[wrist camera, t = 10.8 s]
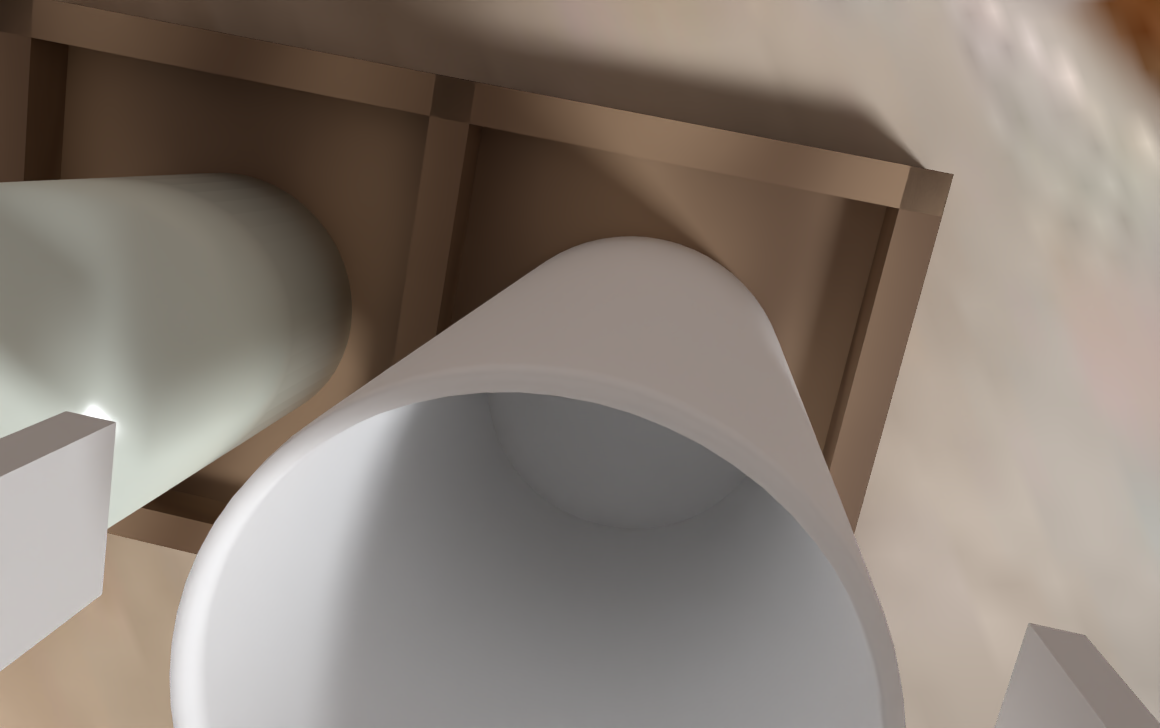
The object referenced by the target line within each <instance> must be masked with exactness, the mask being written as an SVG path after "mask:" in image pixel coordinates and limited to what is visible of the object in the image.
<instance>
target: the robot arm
mask: <svg viewBox="0 0 1160 728" xmlns="http://www.w3.org/2000/svg"><path fill="white" fill-rule="evenodd" d="M115 433H116V422H114V421H109V420H105V419H100V418H96V417H91V416H87V415H82V414H78V413H73V412H68V411H65V412H63V413H60V414H58V415H55V416H53V417H51V418H48V419H46V420H43V421H41V422H39V423H36V424H34V425H31V426H29V427H27V428H24V429H22V430H19V431H17V432H14V433H12V434H10V435H7V436H5V437H2V438H0V671H1V670H3V669H4V668H5V667H7V666H8V665H9V664H11V663H12V662H13V661H15V660H16V659H17V658H18V657H20V656H21V655H22V654H24V653H25V652H26V651H28V650H29V649H30V648H32V647H33V646H34V645H36V644H37V643H38V642H40V641H41V640H42V639H44V638H45V637H46V636H48V635H49V634H50V633H51V632H53V631H54V630H55V629H57V628H58V627H59V626H61V625H62V624H63V623H65V622H66V621H67V620H69V619H70V618H71V617H73V616H74V615H75V614H77V613H78V612H79V611H81V610H82V609H83V608H84V607H86V606H87V605H88V604H90V603H91V602H92V601H94V600H95V599H96V598H98V597H99V596H100V595H102V588H103V576H104V564H105V552H106V540H107V528H108V516H109V504H110V492H111V480H112V468H113V456H114V444H115ZM995 728H1160V723H1159V722H1158V721H1157V720H1156V719H1155V717H1154V716H1153V715H1152V714H1151V713H1150V711H1149V710H1148V709H1147V708H1146V707H1145V706H1144V704H1143V703H1142V702H1141V701H1140V700H1139V698H1138V697H1137V696H1136V695H1135V694H1134V692H1133V691H1132V690H1131V689H1130V688H1129V687H1128V685H1127V684H1126V683H1125V682H1124V681H1123V679H1122V678H1121V677H1120V676H1119V675H1118V674H1117V672H1116V671H1115V670H1114V669H1113V668H1112V666H1111V665H1110V664H1109V663H1108V662H1107V660H1106V659H1105V658H1104V657H1103V656H1102V655H1101V653H1100V652H1099V651H1098V650H1097V649H1096V647H1095V646H1094V645H1093V644H1092V643H1091V641H1090V640H1089V639H1088V638H1087V637H1086V636H1085V635H1082V634H1077V633H1073V632H1068V631H1064V630H1059V629H1055V628H1050V627H1046V626H1041V625H1036V624H1032V623H1029V624H1028V627H1027V630H1026V633H1025V636H1024V639H1023V642H1022V645H1021V648H1020V651H1019V654H1018V657H1017V660H1016V663H1015V666H1014V669H1013V672H1012V676H1011V679H1010V682H1009V685H1008V688H1007V691H1006V694H1005V697H1004V700H1003V703H1002V706H1001V709H1000V712H999V715H998V718H997V721H996V724H995Z"/></svg>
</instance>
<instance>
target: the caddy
mask: <svg viewBox="0 0 1160 728" xmlns="http://www.w3.org/2000/svg"><path fill="white" fill-rule="evenodd" d="M198 173H233V174H241V175H246V176H250V177H253V178H257V179H260V180H263V181H265V182H267V183H270V184H272V185H274V186H276V187H278V188H280V189H282V190H283V191H285V192H287V193H288V194H290V195H291V196H293V197H294V198H295V199H297V200H298V201H299V202H301V203H302V204H303V205H304V206H305V207H306V208H307V209H308V210H309V211H310V212H311V213H312V214H313V215H314V216H315V217H316V218H317V219H318V220H319V221H320V223H321V224H322V225H323V226H324V228H325V229H326V230H327V232H328V233H329V235H330V237H331V238H332V240H333V242H334V243H335V245H336V247H337V249H338V251H339V253H340V256H341V258H342V260H343V263H344V266H345V269H346V272H347V275H348V279H349V285H350V290H351V299H352V319H351V329H350V334H349V339H348V343H347V346H346V349H345V352H344V354H343V357H342V359H341V361H340V363H339V365H338V367H337V369H336V371H335V372H334V374H333V375H332V376H331V378H330V379H329V381H328V382H327V383H326V384H325V386H324V387H323V388H322V389H321V390H320V391H319V392H318V393H317V394H316V395H315V396H313V397H312V398H311V399H310V400H308V401H307V402H306V403H304V404H303V405H301V406H300V407H298V408H297V409H295V410H293V411H292V412H290V413H289V414H287V415H286V416H284V417H282V418H281V419H279V420H278V421H276V422H275V423H273V424H271V425H270V426H268V427H267V428H265V429H264V430H262V431H260V432H259V433H257V434H256V435H254V436H253V437H251V438H249V439H248V440H246V441H245V442H243V443H242V444H240V445H238V446H237V447H235V448H234V449H232V450H231V451H229V452H227V453H226V454H224V455H223V456H221V457H220V458H218V459H216V460H215V461H213V462H212V463H210V464H209V465H207V466H205V467H204V468H202V469H201V470H199V471H198V472H196V473H194V474H193V475H191V476H190V477H188V478H187V479H185V480H183V481H182V482H180V483H179V484H177V485H176V486H174V487H172V488H171V489H169V490H168V491H166V492H165V493H163V494H161V495H160V496H158V497H157V498H155V499H154V500H152V501H150V502H149V503H147V504H146V505H144V506H143V507H141V508H139V509H138V510H136V511H135V512H133V513H132V514H130V515H128V516H127V517H125V518H124V519H122V520H121V521H119V522H117V523H116V524H114V525H113V526H111V527H110V528H108V529H107V533H110V534H114V535H118V536H122V537H126V538H131V539H135V540H139V541H143V542H147V543H152V544H156V545H160V546H164V547H168V548H173V549H177V550H181V551H185V552H189V553H194V554H198V551H199V550H200V548H201V546H202V544H203V542H204V541H205V539H206V537H207V535H208V533H209V531H210V530H211V528H212V526H213V524H214V523H215V521H216V520H217V518H218V517H219V516H220V514H221V513H222V511H223V510H224V508H225V507H226V506H227V504H228V503H229V501H230V500H231V498H232V497H233V496H234V495H235V494H236V493H237V491H238V490H239V489H240V488H241V487H242V486H243V485H244V483H245V482H246V481H247V480H248V479H249V478H250V477H251V476H252V474H253V473H254V472H255V471H256V470H257V469H258V468H259V467H260V466H261V465H262V464H263V463H264V461H265V460H266V459H267V458H268V457H269V456H271V455H272V454H273V453H274V452H275V451H276V450H277V449H278V448H279V447H280V446H282V445H283V444H284V443H285V442H286V441H287V440H288V439H289V438H290V437H292V436H293V435H294V434H296V433H297V432H298V431H300V430H301V429H302V428H304V427H305V426H307V425H308V424H309V423H311V422H312V421H313V420H315V419H316V418H318V417H319V416H320V415H322V414H323V413H325V412H326V411H328V410H329V409H331V408H332V407H333V406H335V405H336V404H338V403H339V402H341V401H342V400H344V399H345V398H346V397H348V396H349V395H351V394H352V393H354V392H355V391H357V390H358V389H359V388H361V387H362V386H364V385H365V384H367V383H368V382H370V381H371V380H372V379H374V378H375V377H377V376H378V375H380V374H381V373H383V372H384V371H386V370H387V369H388V368H390V367H391V366H393V365H394V364H396V363H397V362H399V361H400V360H402V359H403V358H405V357H406V356H407V355H409V354H410V353H412V352H413V351H415V350H416V349H418V348H419V347H421V346H422V345H424V344H425V343H427V342H428V341H429V340H431V339H432V338H434V337H435V336H437V335H438V334H440V333H441V332H443V331H444V330H446V329H447V328H449V327H450V326H451V325H453V324H454V323H456V322H457V321H459V320H460V319H462V318H463V317H465V316H466V315H468V314H469V313H471V312H472V311H474V310H475V309H476V308H478V307H479V306H481V305H482V304H484V303H485V302H487V301H488V300H490V299H491V298H493V297H494V296H496V295H497V294H498V293H500V292H501V291H503V290H504V289H506V288H507V287H509V286H510V285H512V284H513V283H515V282H516V281H518V280H519V279H520V278H522V277H523V276H525V275H526V274H528V273H529V272H531V271H532V270H534V269H535V268H537V267H538V266H540V265H541V264H542V263H544V262H545V261H547V260H549V259H550V258H552V257H554V256H556V255H557V254H559V253H561V252H563V251H565V250H568V249H570V248H572V247H574V246H577V245H580V244H583V243H586V242H590V241H594V240H599V239H603V238H611V237H621V236H638V237H650V238H656V239H662V240H667V241H670V242H674V243H678V244H681V245H683V246H686V247H688V248H691V249H694V250H696V251H698V252H700V253H702V254H704V255H706V256H708V257H709V258H711V259H713V260H714V261H716V262H717V263H719V264H720V265H722V266H723V267H724V268H726V269H727V270H728V271H729V272H731V273H732V274H733V275H734V276H735V277H736V278H738V279H739V280H740V281H741V282H742V283H743V284H744V285H745V286H746V287H747V289H748V290H749V291H750V292H751V293H752V295H753V296H754V297H755V298H756V300H757V301H758V303H759V304H760V305H761V307H762V308H763V310H764V312H765V313H766V315H767V317H768V319H769V321H770V323H771V325H772V327H773V329H774V332H775V334H776V336H777V339H778V341H779V344H780V347H781V349H782V352H783V354H784V357H785V359H786V362H787V364H788V367H789V370H790V372H791V375H792V377H793V380H794V382H795V385H796V387H797V390H798V393H799V395H800V398H801V400H802V403H803V405H804V408H805V410H806V413H807V416H808V418H809V421H810V423H811V426H812V428H813V431H814V433H815V436H816V439H817V441H818V444H819V446H820V449H821V451H822V454H823V456H824V459H825V462H826V464H827V467H828V469H829V472H830V474H831V477H832V479H833V482H834V485H835V487H836V490H837V492H838V495H839V497H840V500H841V502H842V505H843V508H844V510H845V513H846V515H847V518H848V520H849V523H850V525H851V528H852V531H853V533H854V532H855V529H856V525H857V522H858V518H859V514H860V511H861V507H862V504H863V500H864V496H865V493H866V489H867V485H868V482H869V478H870V475H871V471H872V467H873V464H874V460H875V457H876V453H877V449H878V446H879V442H880V439H881V435H882V431H883V428H884V424H885V420H886V417H887V413H888V410H889V406H890V402H891V399H892V395H893V392H894V388H895V384H896V381H897V377H898V374H899V370H900V366H901V363H902V359H903V355H904V352H905V348H906V345H907V341H908V337H909V334H910V330H911V327H912V323H913V319H914V316H915V312H916V309H917V305H918V301H919V298H920V294H921V290H922V287H923V283H924V280H925V276H926V272H927V269H928V265H929V262H930V258H931V254H932V251H933V247H934V244H935V240H936V236H937V233H938V229H939V226H940V222H941V218H942V215H943V211H944V207H945V204H946V200H947V197H948V193H949V189H950V186H951V182H952V179H953V175H954V174H949V173H944V172H939V171H934V170H929V169H924V168H918V167H913V166H908V165H903V164H898V163H893V162H887V161H882V160H877V159H872V158H867V157H862V156H856V155H851V154H846V153H841V152H836V151H831V150H825V149H820V148H815V147H810V146H805V145H800V144H794V143H789V142H784V141H779V140H774V139H769V138H763V137H758V136H753V135H748V134H743V133H737V132H732V131H727V130H722V129H717V128H712V127H706V126H701V125H696V124H691V123H686V122H681V121H675V120H670V119H665V118H660V117H655V116H650V115H644V114H639V113H634V112H629V111H624V110H619V109H613V108H608V107H603V106H598V105H593V104H588V103H582V102H577V101H572V100H567V99H562V98H557V97H551V96H546V95H541V94H536V93H531V92H526V91H520V90H515V89H510V88H505V87H500V86H495V85H489V84H484V83H479V82H474V81H469V80H464V79H458V78H453V77H448V76H443V75H438V74H433V73H427V72H422V71H417V70H412V69H407V68H402V67H396V66H391V65H386V64H381V63H376V62H371V61H365V60H360V59H355V58H350V57H345V56H340V55H334V54H329V53H324V52H319V51H314V50H308V49H303V48H298V47H293V46H288V45H283V44H277V43H272V42H267V41H262V40H257V39H252V38H246V37H241V36H236V35H231V34H226V33H221V32H215V31H210V30H205V29H200V28H195V27H190V26H184V25H179V24H174V23H169V22H164V21H159V20H153V19H148V18H143V17H138V16H133V15H128V14H122V13H117V12H112V11H107V10H102V9H97V8H91V7H86V6H81V5H76V4H71V3H66V2H60V1H55V0H0V182H21V181H43V180H65V179H88V178H110V177H132V176H154V175H176V174H198Z"/></svg>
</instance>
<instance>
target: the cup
mask: <svg viewBox="0 0 1160 728" xmlns="http://www.w3.org/2000/svg"><path fill="white" fill-rule="evenodd" d="M170 698H171V711H172V718H173V725H174V728H906V725H905V712H904V699H903V693H902V686H901V680H900V675H899V669H898V664H897V659H896V653H895V648H894V644H893V641H892V637H891V634H890V631H889V628H888V624H887V621H886V618H885V614H884V611H883V609H882V606H881V603H880V601H879V598H878V596H877V593H876V590H875V588H874V585H873V583H872V580H871V577H870V575H869V572H868V570H867V567H866V564H865V562H864V559H863V557H862V554H861V551H860V549H859V546H858V544H857V541H856V538H855V536H854V533H853V531H852V528H851V525H850V523H849V520H848V518H847V515H846V513H845V510H844V508H843V505H842V502H841V500H840V497H839V495H838V492H837V490H836V487H835V485H834V482H833V479H832V477H831V474H830V472H829V469H828V467H827V464H826V462H825V459H824V456H823V454H822V451H821V449H820V446H819V444H818V441H817V439H816V436H815V433H814V431H813V428H812V426H811V423H810V421H809V418H808V416H807V413H806V410H805V408H804V405H803V403H802V400H801V398H800V395H799V393H798V390H797V387H796V385H795V382H794V380H793V377H792V375H791V372H790V370H789V367H788V364H787V362H786V359H785V357H784V354H783V352H782V349H781V347H780V344H779V341H778V339H777V336H776V334H775V332H774V329H773V327H772V325H771V323H770V321H769V319H768V317H767V315H766V313H765V312H764V310H763V308H762V307H761V305H760V304H759V303H758V301H757V300H756V298H755V297H754V296H753V295H752V293H751V292H750V291H749V290H748V289H747V287H746V286H745V285H744V284H743V283H742V282H741V281H740V280H739V279H738V278H736V277H735V276H734V275H733V274H732V273H731V272H729V271H728V270H727V269H726V268H724V267H723V266H722V265H720V264H719V263H717V262H716V261H714V260H713V259H711V258H709V257H708V256H706V255H704V254H702V253H700V252H698V251H696V250H694V249H691V248H688V247H686V246H683V245H681V244H678V243H674V242H670V241H667V240H662V239H656V238H650V237H638V236H621V237H611V238H603V239H599V240H594V241H590V242H586V243H583V244H580V245H577V246H574V247H572V248H570V249H568V250H565V251H563V252H561V253H559V254H557V255H556V256H554V257H552V258H550V259H549V260H547V261H545V262H544V263H542V264H541V265H540V266H538V267H537V268H535V269H534V270H532V271H531V272H529V273H528V274H526V275H525V276H523V277H522V278H520V279H519V280H518V281H516V282H515V283H513V284H512V285H510V286H509V287H507V288H506V289H504V290H503V291H501V292H500V293H498V294H497V295H496V296H494V297H493V298H491V299H490V300H488V301H487V302H485V303H484V304H482V305H481V306H479V307H478V308H476V309H475V310H474V311H472V312H471V313H469V314H468V315H466V316H465V317H463V318H462V319H460V320H459V321H457V322H456V323H454V324H453V325H451V326H450V327H449V328H447V329H446V330H444V331H443V332H441V333H440V334H438V335H437V336H435V337H434V338H432V339H431V340H429V341H428V342H427V343H425V344H424V345H422V346H421V347H419V348H418V349H416V350H415V351H413V352H412V353H410V354H409V355H407V356H406V357H405V358H403V359H402V360H400V361H399V362H397V363H396V364H394V365H393V366H391V367H390V368H388V369H387V370H386V371H384V372H383V373H381V374H380V375H378V376H377V377H375V378H374V379H372V380H371V381H370V382H368V383H367V384H365V385H364V386H362V387H361V388H359V389H358V390H357V391H355V392H354V393H352V394H351V395H349V396H348V397H346V398H345V399H344V400H342V401H341V402H339V403H338V404H336V405H335V406H333V407H332V408H331V409H329V410H328V411H326V412H325V413H323V414H322V415H320V416H319V417H318V418H316V419H315V420H313V421H312V422H311V423H309V424H308V425H307V426H305V427H304V428H302V429H301V430H300V431H298V432H297V433H296V434H294V435H293V436H292V437H290V438H289V439H288V440H287V441H286V442H285V443H284V444H283V445H282V446H280V447H279V448H278V449H277V450H276V451H275V452H274V453H273V454H272V455H271V456H269V457H268V458H267V459H266V460H265V461H264V463H263V464H262V465H261V466H260V467H259V468H258V469H257V470H256V471H255V472H254V473H253V474H252V476H251V477H250V478H249V479H248V480H247V481H246V482H245V483H244V485H243V486H242V487H241V488H240V489H239V490H238V491H237V493H236V494H235V495H234V496H233V497H232V498H231V500H230V501H229V503H228V504H227V506H226V507H225V508H224V510H223V511H222V513H221V514H220V516H219V517H218V518H217V520H216V521H215V523H214V524H213V526H212V528H211V530H210V531H209V533H208V535H207V537H206V539H205V541H204V542H203V544H202V546H201V548H200V550H199V551H198V554H197V556H196V559H195V561H194V563H193V566H192V568H191V571H190V573H189V575H188V578H187V580H186V583H185V587H184V590H183V594H182V597H181V601H180V604H179V607H178V611H177V616H176V622H175V627H174V633H173V639H172V647H171V662H170Z"/></svg>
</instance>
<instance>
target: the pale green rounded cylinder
mask: <svg viewBox="0 0 1160 728" xmlns="http://www.w3.org/2000/svg"><path fill="white" fill-rule="evenodd" d="M351 319H352V299H351V290H350V285H349V279H348V275H347V272H346V269H345V266H344V263H343V260H342V258H341V256H340V253H339V251H338V249H337V247H336V245H335V243H334V242H333V240H332V238H331V237H330V235H329V233H328V232H327V230H326V229H325V228H324V226H323V225H322V224H321V223H320V221H319V220H318V219H317V218H316V217H315V216H314V215H313V214H312V213H311V212H310V211H309V210H308V209H307V208H306V207H305V206H304V205H303V204H302V203H301V202H299V201H298V200H297V199H295V198H294V197H293V196H291V195H290V194H288V193H287V192H285V191H283V190H282V189H280V188H278V187H276V186H274V185H272V184H270V183H267V182H265V181H263V180H260V179H257V178H253V177H250V176H246V175H241V174H233V173H198V174H176V175H154V176H132V177H110V178H88V179H65V180H43V181H21V182H0V438H2V437H5V436H7V435H10V434H12V433H14V432H17V431H19V430H22V429H24V428H27V427H29V426H31V425H34V424H36V423H39V422H41V421H43V420H46V419H48V418H51V417H53V416H55V415H58V414H60V413H63V412H65V411H68V412H73V413H78V414H82V415H87V416H91V417H96V418H100V419H105V420H109V421H114V422H116V433H115V444H114V456H113V468H112V480H111V492H110V504H109V516H108V528H110V527H111V526H113V525H114V524H116V523H117V522H119V521H121V520H122V519H124V518H125V517H127V516H128V515H130V514H132V513H133V512H135V511H136V510H138V509H139V508H141V507H143V506H144V505H146V504H147V503H149V502H150V501H152V500H154V499H155V498H157V497H158V496H160V495H161V494H163V493H165V492H166V491H168V490H169V489H171V488H172V487H174V486H176V485H177V484H179V483H180V482H182V481H183V480H185V479H187V478H188V477H190V476H191V475H193V474H194V473H196V472H198V471H199V470H201V469H202V468H204V467H205V466H207V465H209V464H210V463H212V462H213V461H215V460H216V459H218V458H220V457H221V456H223V455H224V454H226V453H227V452H229V451H231V450H232V449H234V448H235V447H237V446H238V445H240V444H242V443H243V442H245V441H246V440H248V439H249V438H251V437H253V436H254V435H256V434H257V433H259V432H260V431H262V430H264V429H265V428H267V427H268V426H270V425H271V424H273V423H275V422H276V421H278V420H279V419H281V418H282V417H284V416H286V415H287V414H289V413H290V412H292V411H293V410H295V409H297V408H298V407H300V406H301V405H303V404H304V403H306V402H307V401H308V400H310V399H311V398H312V397H313V396H315V395H316V394H317V393H318V392H319V391H320V390H321V389H322V388H323V387H324V386H325V384H326V383H327V382H328V381H329V379H330V378H331V376H332V375H333V374H334V372H335V371H336V369H337V367H338V365H339V363H340V361H341V359H342V357H343V354H344V352H345V349H346V346H347V343H348V339H349V334H350V329H351ZM108 528H107V529H108Z"/></svg>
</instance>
